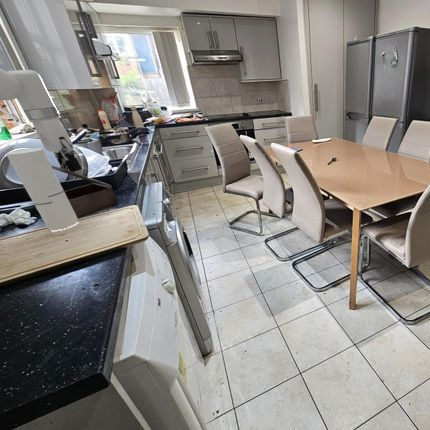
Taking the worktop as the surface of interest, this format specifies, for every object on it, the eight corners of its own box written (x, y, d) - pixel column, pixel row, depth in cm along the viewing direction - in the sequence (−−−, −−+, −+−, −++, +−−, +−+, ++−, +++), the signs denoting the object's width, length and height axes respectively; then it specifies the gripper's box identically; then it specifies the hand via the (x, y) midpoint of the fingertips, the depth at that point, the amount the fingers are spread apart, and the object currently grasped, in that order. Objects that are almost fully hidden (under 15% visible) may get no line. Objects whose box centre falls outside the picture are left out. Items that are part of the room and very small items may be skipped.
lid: (63, 171, 87) (70, 157, 88) (47, 166, 93) (53, 154, 93) (110, 187, 99) (116, 175, 100) (93, 182, 105) (98, 171, 106)
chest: (77, 218, 92) (68, 200, 89) (60, 211, 98) (51, 194, 95) (118, 204, 102) (111, 187, 99) (100, 198, 108) (93, 182, 105)
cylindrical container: (85, 229, 85) (46, 149, 74) (57, 239, 79) (9, 155, 68) (76, 223, 88) (37, 147, 77) (48, 233, 83) (2, 152, 72)
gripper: (17, 116, 86) (48, 170, 95) (38, 117, 78) (70, 176, 87) (46, 112, 91) (73, 163, 100) (69, 113, 84) (96, 169, 93)
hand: (72, 169), depth 94 cm, fingers closed on lid, 5 cm apart
